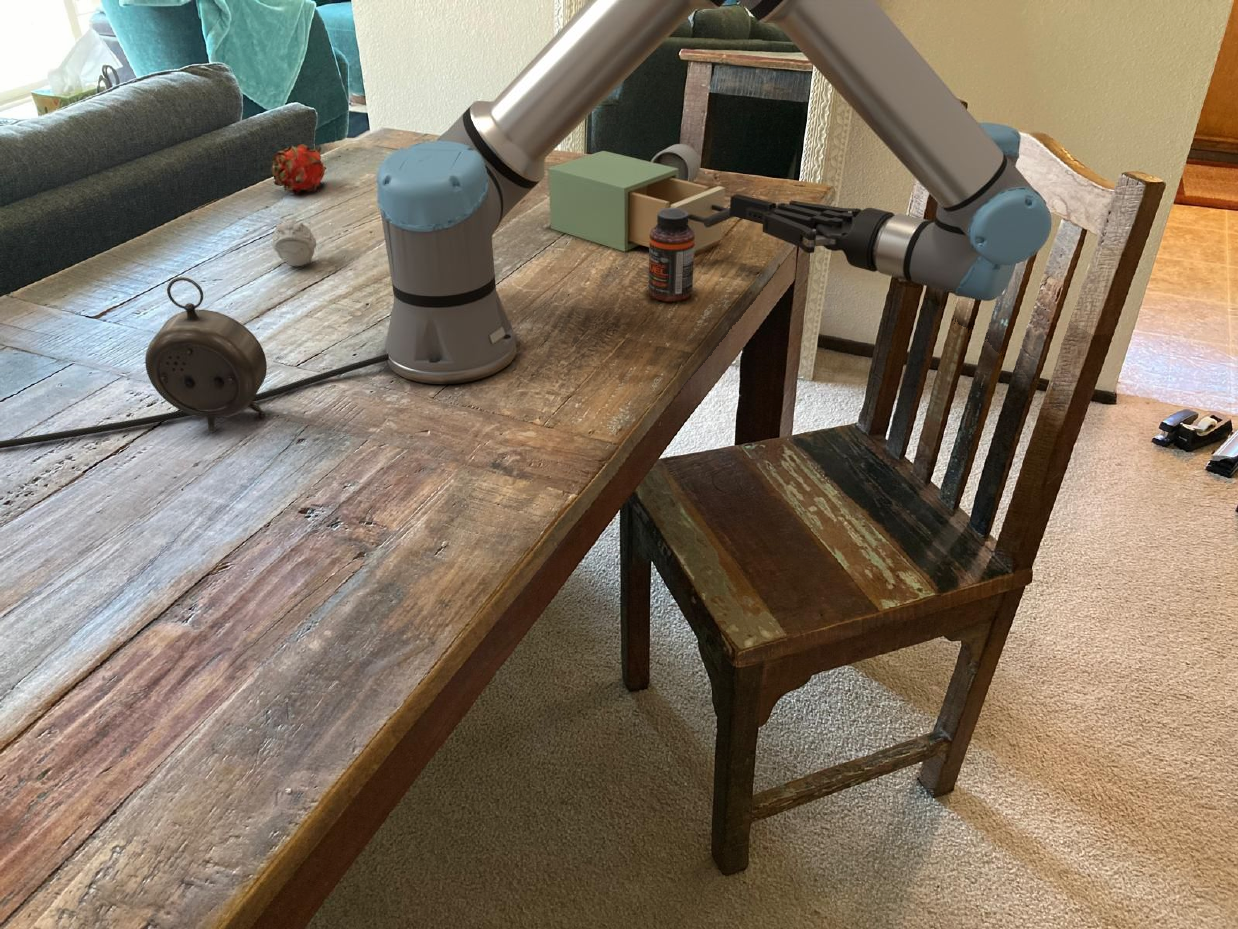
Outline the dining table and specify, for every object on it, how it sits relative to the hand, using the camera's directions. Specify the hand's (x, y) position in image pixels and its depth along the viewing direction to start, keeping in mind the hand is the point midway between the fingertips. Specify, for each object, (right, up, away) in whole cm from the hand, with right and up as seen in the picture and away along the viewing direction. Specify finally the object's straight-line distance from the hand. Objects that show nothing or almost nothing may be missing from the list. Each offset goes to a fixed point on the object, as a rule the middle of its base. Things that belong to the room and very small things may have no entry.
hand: (733, 204), depth 130 cm
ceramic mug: (-7, +12, +34) cm, 37 cm away
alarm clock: (-58, -32, -31) cm, 74 cm away
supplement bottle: (-9, -14, -4) cm, 17 cm away
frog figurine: (-63, -8, +5) cm, 63 cm away
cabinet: (-17, +1, +17) cm, 24 cm away
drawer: (-8, -3, +10) cm, 13 cm away
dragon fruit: (-72, +12, +35) cm, 81 cm away
